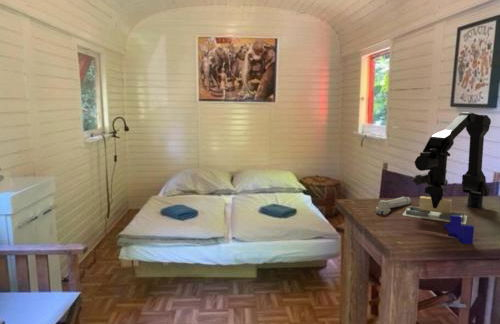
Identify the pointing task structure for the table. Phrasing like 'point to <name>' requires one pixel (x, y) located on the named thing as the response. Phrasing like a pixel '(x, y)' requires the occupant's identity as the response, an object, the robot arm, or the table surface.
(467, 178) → the robot arm
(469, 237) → the cable clip
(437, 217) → the base board
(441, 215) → the chain end links
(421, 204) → the link bar
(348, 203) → the table surface
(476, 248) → the table surface
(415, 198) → the table surface
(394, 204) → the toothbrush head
